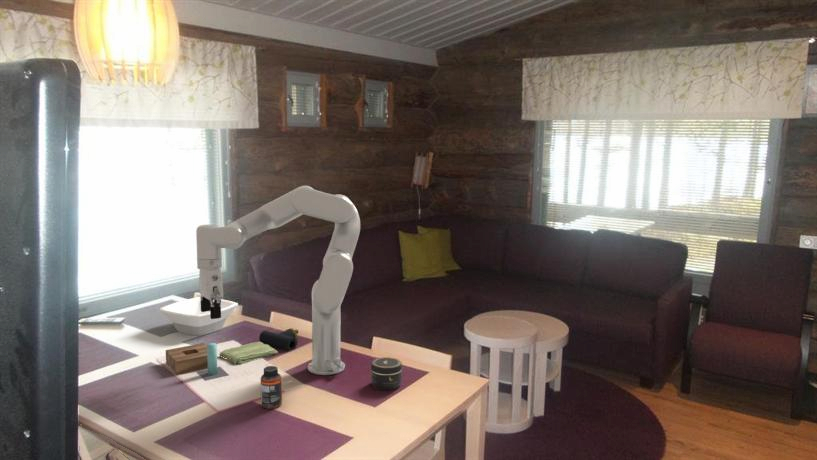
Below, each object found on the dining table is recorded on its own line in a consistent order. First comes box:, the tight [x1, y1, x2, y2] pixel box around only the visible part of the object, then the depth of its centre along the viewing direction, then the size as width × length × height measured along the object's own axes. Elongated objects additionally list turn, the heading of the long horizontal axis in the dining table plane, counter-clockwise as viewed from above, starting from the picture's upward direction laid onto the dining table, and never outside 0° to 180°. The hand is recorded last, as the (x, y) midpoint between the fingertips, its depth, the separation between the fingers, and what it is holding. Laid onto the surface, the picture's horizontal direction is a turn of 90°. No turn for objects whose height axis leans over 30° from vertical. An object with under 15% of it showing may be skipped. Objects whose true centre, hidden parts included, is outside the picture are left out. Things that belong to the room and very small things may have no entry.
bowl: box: [158, 296, 239, 337], centre depth 237 cm, size 24×25×10 cm
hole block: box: [165, 342, 208, 376], centre depth 198 cm, size 13×13×5 cm
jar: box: [370, 356, 403, 391], centre depth 185 cm, size 10×10×8 cm
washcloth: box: [218, 341, 279, 366], centre depth 209 cm, size 13×18×3 cm
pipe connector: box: [258, 327, 300, 352], centre depth 222 cm, size 12×5×15 cm
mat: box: [196, 366, 230, 381], centre depth 191 cm, size 9×8×1 cm
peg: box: [206, 342, 218, 375], centre depth 190 cm, size 3×3×10 cm
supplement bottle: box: [260, 365, 283, 410], centre depth 168 cm, size 6×6×11 cm
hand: (210, 314), depth 188 cm, fingers open, 9 cm apart
